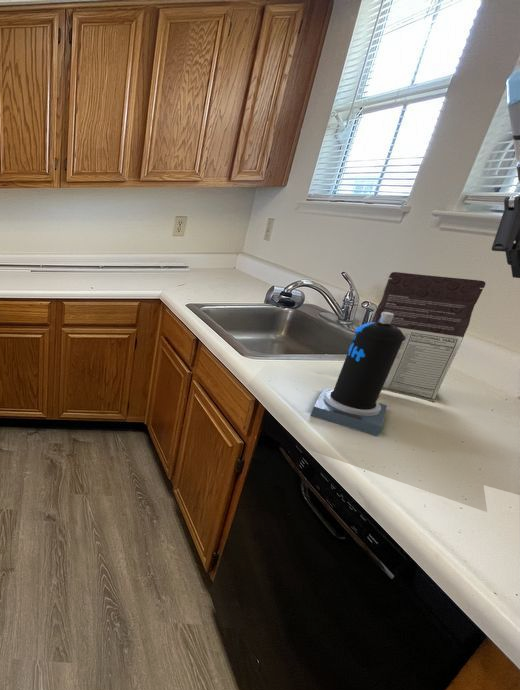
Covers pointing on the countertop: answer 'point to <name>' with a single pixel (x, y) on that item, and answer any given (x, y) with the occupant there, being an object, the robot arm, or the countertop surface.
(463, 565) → the countertop surface
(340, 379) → the aerosol can
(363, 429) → the kitchen scale
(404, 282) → the protein powder
